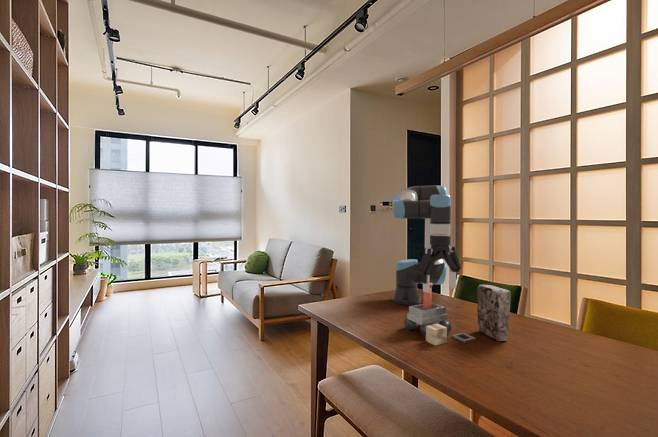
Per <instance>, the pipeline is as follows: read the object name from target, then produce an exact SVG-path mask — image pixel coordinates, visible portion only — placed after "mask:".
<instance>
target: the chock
mask: <svg viewBox="0 0 658 437" xmlns="http://www.w3.org/2000/svg"><path fill="white" fill-rule="evenodd" d="M447 340H448V333H447V327H444V326H442V325H439V323H433V325H429V326H426V338H425V341H426V343H429V344H431V345H434V346H435V347H436V346H439V345H442V344H443V345H444V344H447V343H448V341H447Z"/></svg>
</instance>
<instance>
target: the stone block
mask: <svg viewBox="0 0 658 437" xmlns="http://www.w3.org/2000/svg"><path fill="white" fill-rule="evenodd" d="M476 294H477V295H476V300H477V306H476V307H477V308H476V310H477V326H478V332H480V333H482V334H484V335H485V336H487V337H490V338H491V339H493V340H495V341H497V342H507V341H508V338H509V327H510V315H511V314H510V311H511V299H512V298H511V297H512V296H511V295H512V294H511V291H510V290H508V289H505V288H503V287H502V288H501V287H498V286H496V285H492V284H491V285H490V284H479V285H478V286H477V290H476Z"/></svg>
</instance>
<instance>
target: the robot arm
mask: <svg viewBox="0 0 658 437" xmlns="http://www.w3.org/2000/svg"><path fill="white" fill-rule="evenodd" d="M451 206H452V201H451V195H450V194H448V191H447V188H446V186H444V185H437V184H436V185H435V184H433V185H415V186H409V187H406V188H405V189H403V190H402V191H400V192H399V194H398V199H397V200H394V201H393V203H392V216H393V218H394V219H401V220H402V219H423V220H424V248H423V255H422V258H421V260H420V262H418V259H415V258H414V259H413V258H412V259H411V258H410V259H402V260H399V261H397V262H396V264H395V265H396V266H395V271H396V273H395V290H394V292H393V296H392V302H394V303H395V304H398V305H406V306H414V305H420V304H421V296H420V293H419V289H418V284H422V291H423V293H424V292H427V293H429V289H430V283H433V286H434V285H435V286H436V285H443V284H444V283H445V282H446V277H447V268H449V269H450V270H449V275H448V276H449V277H448V278H449V280H448V282H449V284H448V288H450V289H453V290H454V289H455V290H456V289H457V279H458V275H457V274H458V273H459V272H460V271H461V269H462V266H461V263H460V261H459V258H458V256H457V253H456V247H455V246H450V245H451V236H450V235H451V233H452V232H451V229H452V228H451V227H452V225H451V224H452V222H451V215H452V211H451V210H452V207H451Z"/></svg>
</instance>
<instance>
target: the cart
mask: <svg viewBox="0 0 658 437" xmlns="http://www.w3.org/2000/svg"><path fill="white" fill-rule="evenodd" d="M446 310H447V308H446V306H443V305H441V304H437V303H436V302H435V303H434V302H431V309H427V310H424V303H422V304H421V303H419V304H416V305H408V312H407V313H406V317H405V318H404V320H403V325H404V327H405V329H406V330H408V331H411V330H415V329H416V328H417V324H418V325H420V328H419V331H420V332H419V333H420V335H421V336H422V338H425V339H426V326H429V325H434V324H436V323H438V324H439V325H442V326H444V327H447V334H450V333H451V332H452V325H451V323H450V321H449V320H448V314H447V312H446Z"/></svg>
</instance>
